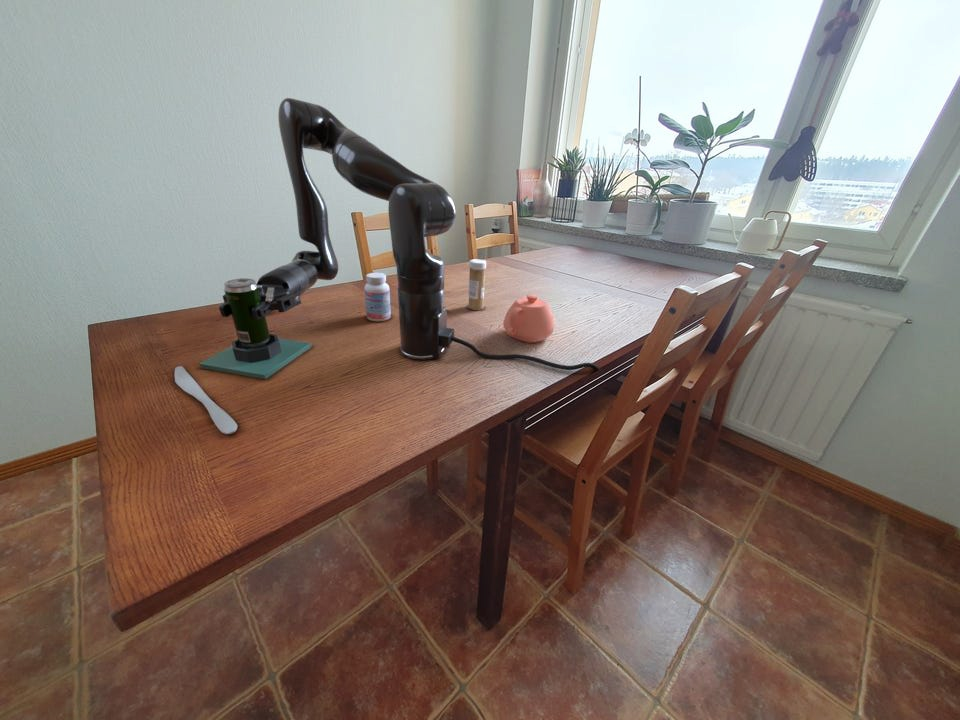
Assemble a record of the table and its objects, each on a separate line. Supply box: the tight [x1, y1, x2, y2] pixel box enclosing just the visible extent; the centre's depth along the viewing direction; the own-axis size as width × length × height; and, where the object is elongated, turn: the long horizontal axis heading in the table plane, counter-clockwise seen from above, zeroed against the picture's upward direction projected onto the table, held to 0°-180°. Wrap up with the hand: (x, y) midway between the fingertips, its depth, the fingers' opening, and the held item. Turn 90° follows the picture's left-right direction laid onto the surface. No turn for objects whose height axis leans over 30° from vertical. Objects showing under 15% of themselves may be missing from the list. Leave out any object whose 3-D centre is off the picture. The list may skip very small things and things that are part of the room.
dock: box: [198, 333, 312, 380], centre depth 75 cm, size 14×14×4 cm
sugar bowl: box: [502, 294, 555, 344], centre depth 89 cm, size 12×14×10 cm
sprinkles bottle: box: [467, 258, 487, 311], centre depth 104 cm, size 5×5×13 cm
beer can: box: [223, 277, 271, 347], centre depth 71 cm, size 5×5×12 cm
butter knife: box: [174, 365, 238, 435], centre depth 62 cm, size 1×27×3 cm
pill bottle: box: [363, 272, 392, 322], centre depth 94 cm, size 6×6×11 cm
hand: (238, 313), depth 68 cm, fingers closed on beer can, 5 cm apart
